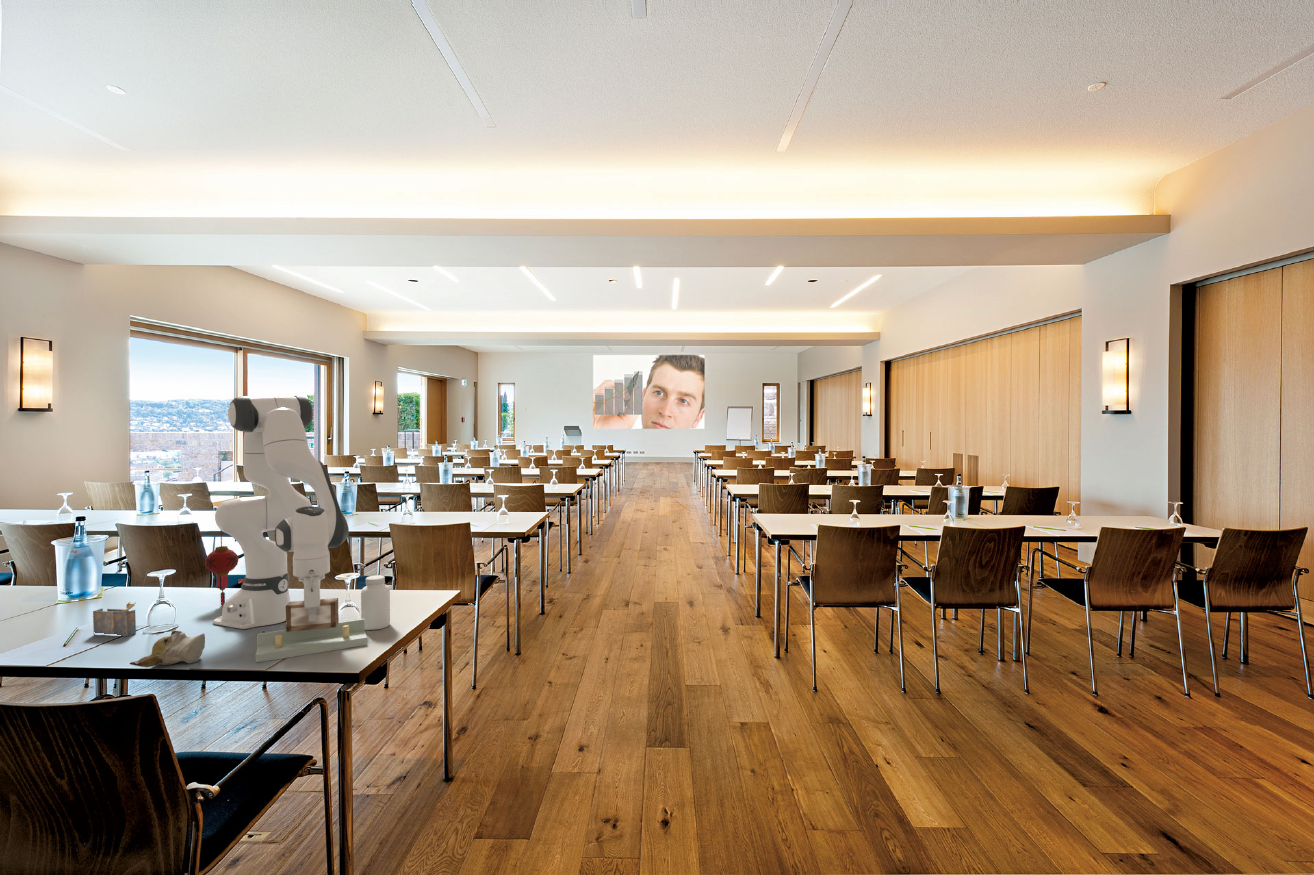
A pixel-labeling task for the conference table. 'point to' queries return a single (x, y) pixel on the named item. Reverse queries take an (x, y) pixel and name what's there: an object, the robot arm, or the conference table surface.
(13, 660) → the conference table surface
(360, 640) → the ledge
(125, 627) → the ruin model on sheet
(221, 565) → the lantern
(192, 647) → the ceramic sculpture
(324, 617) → the wooden box
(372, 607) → the pill bottle
